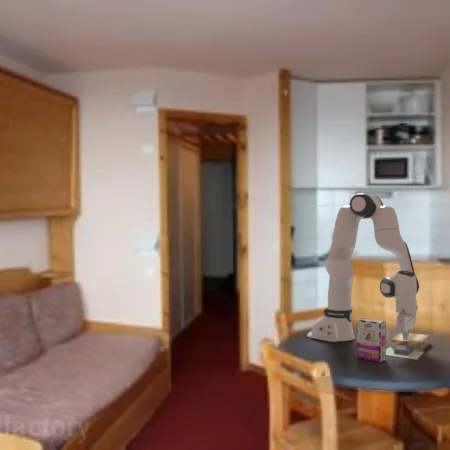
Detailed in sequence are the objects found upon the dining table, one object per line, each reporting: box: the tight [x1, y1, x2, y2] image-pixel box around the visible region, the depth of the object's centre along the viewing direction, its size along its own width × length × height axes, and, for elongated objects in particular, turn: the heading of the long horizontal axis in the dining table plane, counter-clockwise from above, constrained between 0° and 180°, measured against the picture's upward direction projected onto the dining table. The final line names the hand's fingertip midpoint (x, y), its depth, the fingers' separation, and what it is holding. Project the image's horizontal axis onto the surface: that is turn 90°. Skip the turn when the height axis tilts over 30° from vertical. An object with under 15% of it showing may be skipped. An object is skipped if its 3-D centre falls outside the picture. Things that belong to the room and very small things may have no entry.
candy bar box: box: [356, 317, 387, 363], centre depth 230 cm, size 11×5×16 cm, turn 45°
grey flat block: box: [394, 344, 413, 355], centre depth 240 cm, size 6×9×2 cm, turn 149°
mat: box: [386, 346, 425, 361], centre depth 238 cm, size 15×13×1 cm
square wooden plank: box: [390, 332, 430, 352], centre depth 250 cm, size 13×16×4 cm
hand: (405, 339), depth 243 cm, fingers closed
